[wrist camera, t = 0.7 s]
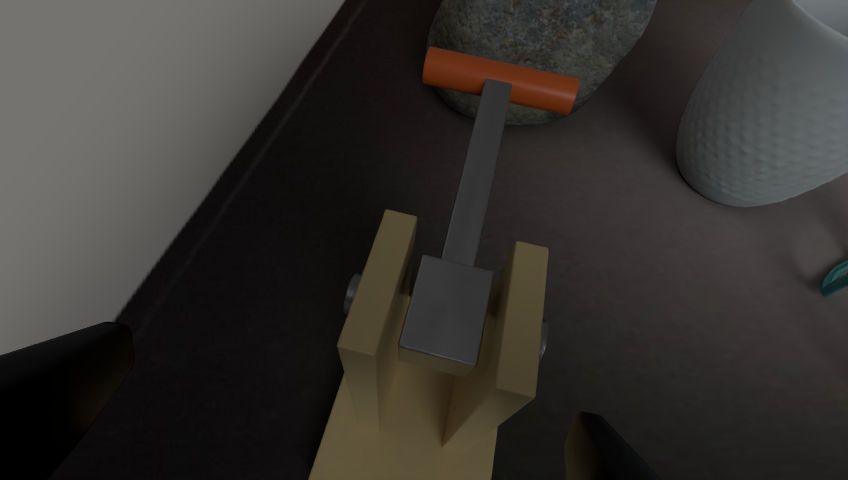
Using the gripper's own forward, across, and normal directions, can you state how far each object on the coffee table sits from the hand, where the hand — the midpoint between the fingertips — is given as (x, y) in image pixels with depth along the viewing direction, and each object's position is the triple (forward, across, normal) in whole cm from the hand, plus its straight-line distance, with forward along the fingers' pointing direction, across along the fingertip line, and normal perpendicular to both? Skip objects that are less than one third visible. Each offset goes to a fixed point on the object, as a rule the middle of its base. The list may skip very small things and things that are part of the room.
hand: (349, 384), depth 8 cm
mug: (+28, -23, -2) cm, 36 cm away
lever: (+9, -2, -1) cm, 9 cm away
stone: (+33, -5, -4) cm, 33 cm away
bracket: (+11, -2, +10) cm, 15 cm away
